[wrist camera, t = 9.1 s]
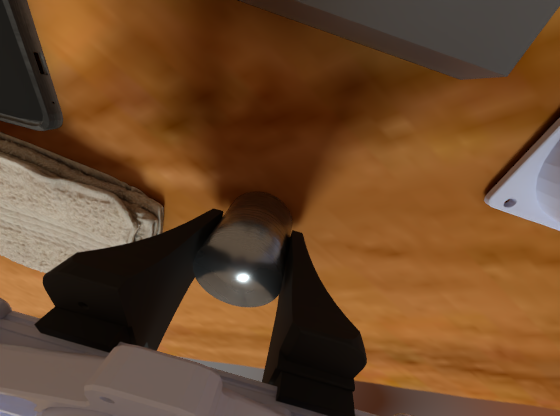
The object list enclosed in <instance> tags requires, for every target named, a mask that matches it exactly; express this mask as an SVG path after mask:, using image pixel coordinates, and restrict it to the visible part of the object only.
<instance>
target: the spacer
mask: <svg viewBox="0 0 560 416" xmlns="http://www.w3.org/2000/svg"><path fill="white" fill-rule="evenodd" d="M291 229H292V217H291V214H290V212H289V210H288V208H287V207H286V205H285V204H284V203H283V202H282V201H281V200H279V199H278V198H276V197H275V196H273V195H270V194H267V193H263V192H250V193H246V194H243V195H241V196H240V197H238V198H237V199H236V200H235V201H234V202H233V204H232V205H231V207H230V208H229V209H228V211H227V212H226V213H225V215H224V216H223V218H222V219H221V220H220V222H219V223H218V224H217V226H216V227H215V229H214V230H213V231H212V233H211V234H210V235H209V237H208V238H207V240H206V241H205V242H204V244H203V245H202V247H201V248H200V249H199V251H198V252H197V254H196V255H195V257H194V259H193V272H194V275H195V277H196V279H197V281H198V282H199V284H200V285H201V286H202V287H203V288H204V289H205V290H206V291H207V292H208V293H209V294H211V295H212V296H214V297H215V298H217V299H219V300H221V301H223V302H225V303H228V304H231V305H235V306H240V307H257V306H262V305H265V304H268V303H270V302H271V301H273V300H274V299H275V298H276V297H277V296H278V295H279V293H280V291H281V287H282V281H283V275H284V270H285V264H286V258H287V252H288V246H289V240H290V235H291Z"/></svg>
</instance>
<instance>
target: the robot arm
mask: <svg viewBox="0 0 560 416" xmlns="http://www.w3.org/2000/svg"><path fill="white" fill-rule="evenodd" d="M508 199H510V200H509V201H508V202H507V203H505V201H507V200H508ZM484 201H485V203H486V204H488V205H489V206H491V207H493V208H495V209H498V210H501V211H504V212H507V213H510V214H513V215H516V216H519V217H522V218H525V219H527V220H530V221H533V222H536V223H539V224H542V225H545V226H548V227H551V228H554V229H557V230H559V231H560V118H559V119H558V120H557V121H556V122H555V123H554V124H553V125H552V126H551V127H550V128H549V129H548V130H547V131H546V132H545V133H544V134H543V136H542V137H541V138H540V139H539V140H538V141H537V142H536V143H535V144H534V145H533V146H532V147H531V148H530V149H529V150H528V151H527V152H526V153H525V154H524V156H523V157H522V158H521V159H520V160H519V161H518V162H517V163H516V164H515V165H514V166H513V167H512V168H511V169H510V170H509V171H508V172H507V173H506V175H505V176H504V177H503V178H502V179H501V180H500V181H499V182H498V183H497V184H496V185H495V186H494V187H493V188H492V189H491V190H490V191H489V192H488V193H487V195H486V196H485V199H484ZM222 217H223V211H221V210H217V209H212V210H210V211H208V212H206V213H204V214H202V215H200V216H199V217H197V218H195V219H193V220H191V221H189V222H187V223H185V224H182V225H180V226H178V227H176V228H174V229H171V230H169V231H166V232H164V233H161V234H158V235H155V236H152V237H149V238H145V239H142V240H138V241H135V242H131V243H127V244H123V245H118V246H113V247H108V248H103V249H96V250H90V251H84V252H77V253H75V254H74V255H72V256H71V257H69V258H68V259H66V260H65V261H64V262H62V263H61V264H59V265H58V266H56V267H55V268H53V269H52V270H50V271H49V272H47V273H46V274H45V275H44V277H43V285H44V288H45V290H46V292H47V293H48V295H49V297H50V298H51V300H52V302H53V303H54V305H55V307H54V308H53V309H52V310H51V311H50V312H48V313H47V314H46V315H45V316H44V317H42V318H41V319H39V318H36V317H32V316H29V315H25V314H22V313H19V312H15V311H12V310H11V307H10V305H9V304H8V303H7V302H6V301H5V300H3V299H1V298H0V416H378V415H374V414H371V413H367V412H364V411H360V410H357V409H354V402H353V394H352V391H354V390H355V384H354V377H355V376H356V375H357V374H358V373H359V372H360V371H361V370H362V369H363V368H364V367H365V365H366V363H367V358H366V353H365V348H364V344H363V341H362V337H361V334H360V332H359V330H358V329H357V328H356V327H355V326H354V325H353V324H352V323H351V322H350V320H349V319H348V318H347V317H346V316H345V315H344V314H343V312H342V311H341V310H340V309H339V307H338V306H337V305H336V303H335V302H334V301H333V299H332V298H331V296H330V295H329V293H328V292H327V290H326V289H325V287H324V285H323V284H322V282H321V280H320V278H319V276H318V274H317V272H316V270H315V268H314V266H313V264H312V261H311V259H310V256H309V253H308V251H307V248H306V244H305V241H304V237H303V234H302V233H300V232H297V231H293V230H292V233H291V236H290V240H289V246H288V252H287V258H286V264H285V270H284V275H283V281H282V287H281V291H280V293H279V299H278V307H277V312H276V317H275V322H274V327H273V332H272V337H271V342H270V347H269V352H268V356H267V361H266V366H265V370H264V375H263V380H262V382H259V381H256V380H252V379H248V378H245V377H242V376H238V375H235V374H231V373H228V372H224V371H221V370H217V369H214V368H210V367H207V366H205V365H202V364H200V363H197V362H193V361H190V360H187V359H183V358H180V357H176V356H173V355H169V354H166V353H162V352H159V351H157V349H158V347H159V344H160V342H161V340H162V338H163V336H164V334H165V332H166V330H167V328H168V326H169V324H170V322H171V320H172V318H173V316H174V314H175V312H176V310H177V308H178V306H179V304H180V303H181V301H182V299H183V297H184V295H185V293H186V291H187V290H188V288H189V286H190V284H191V283H192V281H193V279H194V278H195V275H194V272H193V259H194V257H195V255H196V254H197V252H198V251H199V249H200V248H201V247H202V245H203V244H204V242H205V241H206V240H207V238H208V237H209V235H210V234H211V233H212V231H213V230H214V229H215V227H216V226H217V224H218V223H219V222H220V220H221V219H222ZM394 416H413V415H409V414H405V413H398V414H395V415H394Z"/></svg>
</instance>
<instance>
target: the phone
mask: <svg viewBox="0 0 560 416" xmlns="http://www.w3.org/2000/svg"><path fill="white" fill-rule="evenodd" d="M33 52H36V53H38V55H39V58H40V61H41V64H42V68H43V71H44V74H40V71H39V68H38V65H37V62H36V59H35V56H34V53H33ZM52 102H54V103H55V104H53V103H52ZM0 121H4V122H7V123H11V124H15V125H19V126H22V127H26V128H30V129H34V130H38V131H45V130H51V129H57V128H59V127H60V126H61V125H62V123H63V116H62V111H61V108H60V105H59V102H58V99H57V95H56V92H55V89H54V86H53V83H52V79H51V76H50V73H49V70H48V67H47V63H46V60H45V57H44V54H43V51H42V47H41V44H40V41H39V38H38V35H37V31H36V28H35V25H34V22H33V19H32V15H31V12H30V9H29V6H28V3H27V0H0Z"/></svg>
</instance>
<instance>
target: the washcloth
mask: <svg viewBox="0 0 560 416" xmlns="http://www.w3.org/2000/svg"><path fill="white" fill-rule="evenodd" d="M163 216H164V212H163V206H162V205H161V204H159V203H158V202H156V201H155V200H153V199H150V198H149V197H148V196H147V195H145V194H144V193H143V192H142V191H140V190H139V189H137V188H136V187H133V186H129V185H128V184H126V183H125V182H121V181H119V180H117V179H116V178H114V177H112V176H110V175H108V174H105V173H103V172H100V171H97V170H95V169H93V168H90V167H88V166H85V165H82V164H80V163H78V162H75V161H72V160H70V159H67V158H65V157H62V156H60V155H58V154H55V153H53V152H50V151H48V150H45V149H43V148H40V147H37V146H35V145H33V144H30V143H28V142H25V141H23V140H20V139H17V138H15V137H12V136H10V135H7V134H4V133H2V132H0V254H1V256H5V257H6V258H9V259H10V260H11V261H16V263H18V264H22V265H24V266H26V267H29V268H32V269H35V270H39V271H40V272H45V273H47V272H49V271H50V270H52V269H53V268H55V267H56V266H58V265H59V264H61V263H62V262H64V261H65V260H66V259H68V258H69V257H71V256H72V255H74V254H75V253H77V252H84V251H90V250H96V249H103V248H108V247H113V246H118V245H123V244H127V243H131V242H135V241H138V240H142V239H145V238H149V237H152V236H155V235H158V234H161V233H162V230H163Z"/></svg>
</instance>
